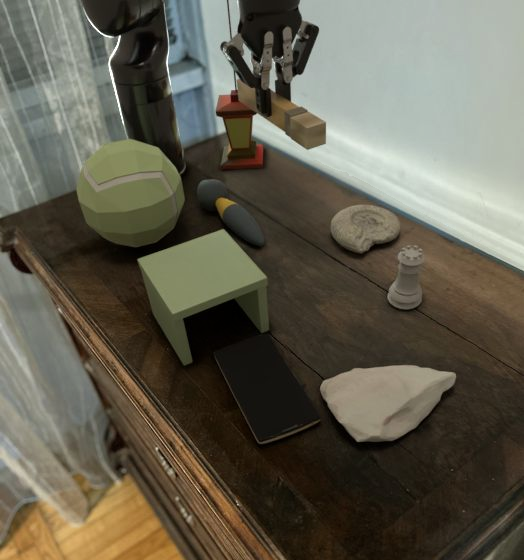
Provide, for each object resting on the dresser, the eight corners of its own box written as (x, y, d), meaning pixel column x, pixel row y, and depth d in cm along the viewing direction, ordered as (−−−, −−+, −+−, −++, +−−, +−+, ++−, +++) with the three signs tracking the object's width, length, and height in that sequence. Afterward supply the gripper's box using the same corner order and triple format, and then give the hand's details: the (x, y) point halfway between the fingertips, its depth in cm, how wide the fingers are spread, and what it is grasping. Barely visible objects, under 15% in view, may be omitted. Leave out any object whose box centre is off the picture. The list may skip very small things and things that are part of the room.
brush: (236, 101, 81) (233, 80, 79) (252, 96, 82) (251, 75, 80) (307, 150, 69) (306, 126, 67) (326, 143, 70) (326, 120, 68)
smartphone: (267, 331, 69) (322, 418, 59) (268, 337, 70) (322, 424, 60) (212, 350, 67) (259, 442, 58) (213, 356, 68) (260, 449, 58)
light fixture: (263, 148, 106) (251, -39, 85) (262, 167, 101) (249, -27, 79) (224, 150, 107) (202, -35, 85) (221, 169, 101) (196, -23, 80)
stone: (312, 360, 61) (435, 330, 64) (311, 385, 64) (428, 355, 67) (349, 435, 54) (485, 398, 56) (346, 459, 57) (476, 422, 59)
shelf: (151, 312, 75) (136, 258, 68) (230, 282, 78) (223, 228, 72) (185, 368, 67) (172, 314, 61) (271, 332, 71) (267, 277, 64)
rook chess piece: (400, 285, 76) (407, 236, 70) (428, 299, 73) (438, 249, 67) (380, 301, 74) (386, 252, 68) (408, 316, 71) (416, 266, 65)
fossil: (375, 242, 76) (314, 228, 81) (376, 264, 79) (316, 250, 84) (411, 203, 82) (352, 192, 87) (410, 225, 84) (353, 213, 90)
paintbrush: (283, 241, 85) (281, 212, 81) (257, 254, 83) (254, 225, 79) (211, 192, 96) (207, 165, 92) (187, 203, 94) (182, 176, 90)
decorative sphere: (199, 251, 84) (183, 158, 73) (101, 275, 81) (70, 183, 71) (177, 203, 94) (160, 115, 83) (89, 223, 91) (60, 135, 81)
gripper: (227, -23, 59) (242, 136, 71) (335, -45, 63) (331, 108, 75) (198, -34, 63) (217, 116, 76) (300, -55, 67) (302, 91, 80)
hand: (274, 112), depth 75 cm, fingers closed on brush, 2 cm apart
